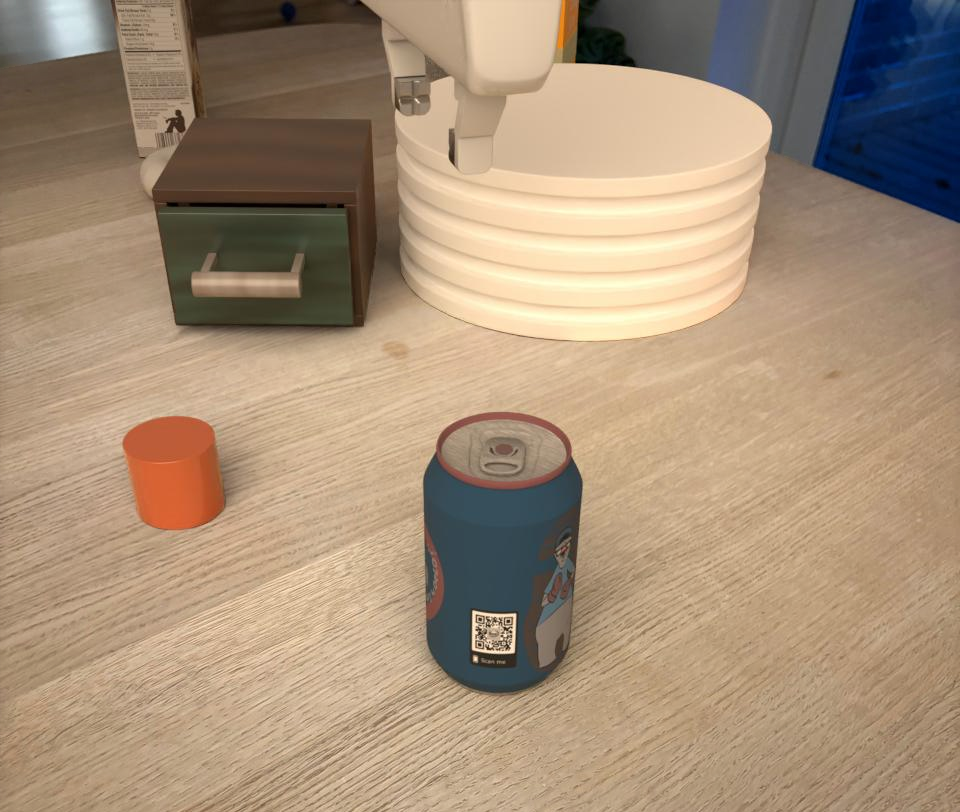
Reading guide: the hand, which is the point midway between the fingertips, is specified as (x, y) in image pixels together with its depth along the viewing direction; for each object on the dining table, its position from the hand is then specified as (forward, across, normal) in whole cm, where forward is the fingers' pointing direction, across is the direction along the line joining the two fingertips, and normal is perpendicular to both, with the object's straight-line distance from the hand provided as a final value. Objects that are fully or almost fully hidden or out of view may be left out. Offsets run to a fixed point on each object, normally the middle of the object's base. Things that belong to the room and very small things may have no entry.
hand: (438, 139), depth 59 cm
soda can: (+18, +20, -4) cm, 28 cm away
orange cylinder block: (+18, +2, -16) cm, 25 cm away
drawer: (+17, -22, -5) cm, 28 cm away
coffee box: (+19, -63, -6) cm, 66 cm away
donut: (+19, -48, -7) cm, 52 cm away
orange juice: (+18, -57, +30) cm, 67 cm away
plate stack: (+18, -22, +19) cm, 35 cm away
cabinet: (+18, -26, -4) cm, 32 cm away
